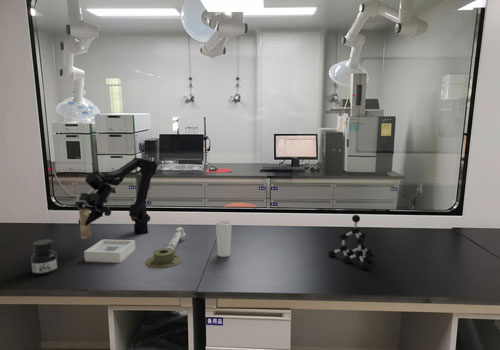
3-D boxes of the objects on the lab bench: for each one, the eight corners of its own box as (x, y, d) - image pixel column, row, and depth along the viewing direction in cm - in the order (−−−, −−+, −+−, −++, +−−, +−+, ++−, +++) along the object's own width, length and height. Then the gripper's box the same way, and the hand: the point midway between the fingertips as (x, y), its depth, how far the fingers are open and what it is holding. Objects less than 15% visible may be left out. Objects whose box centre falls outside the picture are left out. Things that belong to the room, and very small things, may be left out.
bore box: (103, 248, 163) (102, 239, 163) (135, 249, 162) (134, 240, 161) (84, 261, 148) (84, 251, 147) (120, 262, 147) (119, 252, 146)
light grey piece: (162, 247, 153) (175, 224, 177) (163, 261, 155) (176, 236, 179) (174, 247, 153) (185, 224, 177) (175, 261, 155) (186, 236, 179)
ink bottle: (29, 277, 133) (26, 247, 131) (33, 268, 141) (30, 240, 139) (58, 273, 137) (55, 243, 135) (60, 265, 145) (57, 237, 143)
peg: (90, 235, 161) (88, 208, 159) (91, 238, 157) (89, 210, 155) (81, 237, 159) (79, 209, 157) (81, 239, 155) (79, 211, 153)
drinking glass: (233, 253, 157) (233, 221, 155) (228, 258, 151) (227, 225, 149) (220, 251, 159) (219, 219, 157) (213, 257, 153) (213, 223, 151)
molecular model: (364, 271, 138) (367, 222, 135) (326, 256, 154) (327, 212, 151) (389, 261, 149) (392, 215, 146) (351, 247, 165) (353, 206, 162)
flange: (188, 251, 148) (168, 243, 159) (157, 261, 138) (138, 251, 148) (189, 262, 149) (169, 253, 159) (158, 272, 138) (139, 262, 149)
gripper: (76, 184, 162) (56, 212, 154) (104, 187, 154) (84, 217, 146) (92, 197, 170) (73, 225, 162) (119, 201, 162) (101, 230, 154)
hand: (82, 224), depth 156 cm, fingers closed on peg, 4 cm apart
